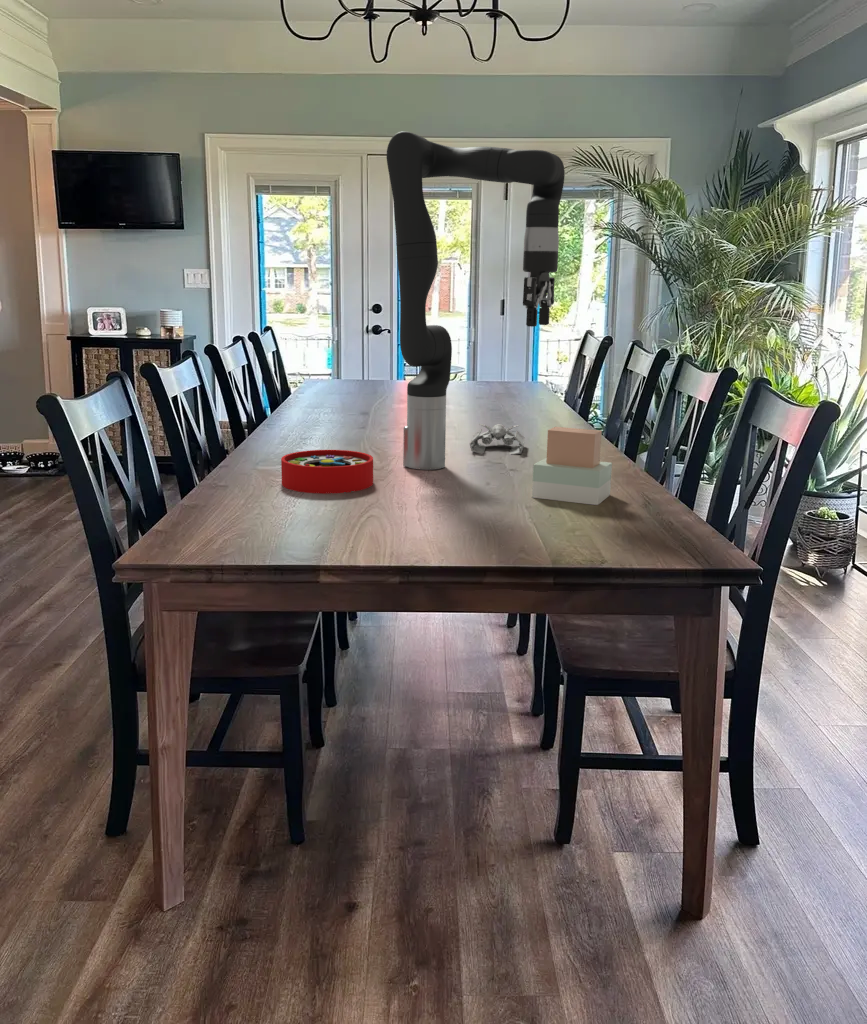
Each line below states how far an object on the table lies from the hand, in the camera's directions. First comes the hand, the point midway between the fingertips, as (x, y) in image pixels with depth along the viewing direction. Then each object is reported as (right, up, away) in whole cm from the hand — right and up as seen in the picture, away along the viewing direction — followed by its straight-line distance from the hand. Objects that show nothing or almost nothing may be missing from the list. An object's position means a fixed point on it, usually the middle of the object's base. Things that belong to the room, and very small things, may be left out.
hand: (537, 325), depth 206 cm
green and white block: (+6, -38, -10) cm, 40 cm away
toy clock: (-46, -35, -1) cm, 58 cm away
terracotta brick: (+6, -31, -12) cm, 34 cm away
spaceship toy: (-6, -25, +42) cm, 49 cm away
